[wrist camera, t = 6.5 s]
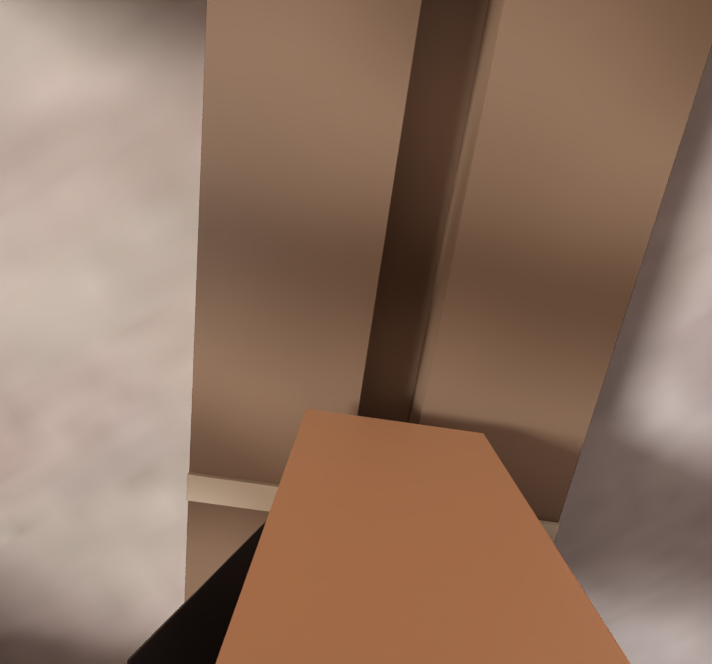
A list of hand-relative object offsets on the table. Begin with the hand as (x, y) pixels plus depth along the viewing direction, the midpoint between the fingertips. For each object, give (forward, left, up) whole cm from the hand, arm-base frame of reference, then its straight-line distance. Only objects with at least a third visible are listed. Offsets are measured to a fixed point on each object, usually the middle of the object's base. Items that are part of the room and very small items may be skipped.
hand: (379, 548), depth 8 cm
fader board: (+5, 0, -4) cm, 7 cm away
